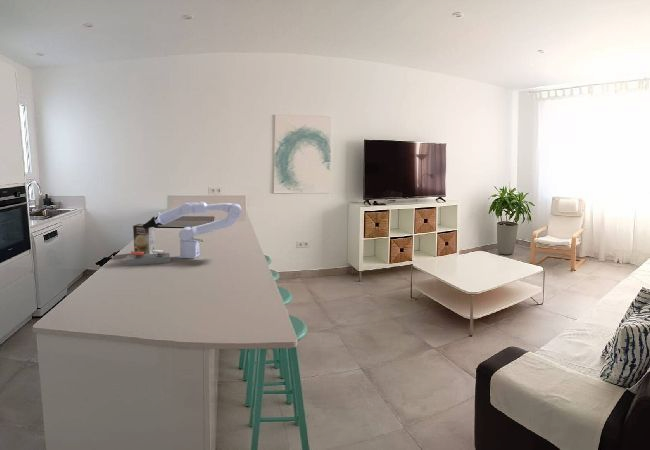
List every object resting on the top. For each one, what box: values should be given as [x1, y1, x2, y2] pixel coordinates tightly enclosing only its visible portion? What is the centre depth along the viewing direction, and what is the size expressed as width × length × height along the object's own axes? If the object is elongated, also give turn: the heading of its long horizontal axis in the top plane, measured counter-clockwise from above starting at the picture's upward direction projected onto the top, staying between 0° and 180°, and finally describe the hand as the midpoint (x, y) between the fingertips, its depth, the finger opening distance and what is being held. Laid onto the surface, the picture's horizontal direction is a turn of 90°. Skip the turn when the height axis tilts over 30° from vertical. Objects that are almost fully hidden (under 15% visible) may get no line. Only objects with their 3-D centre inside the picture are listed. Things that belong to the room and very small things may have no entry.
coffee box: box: [132, 223, 156, 254], centre depth 219 cm, size 9×6×16 cm
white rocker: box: [152, 249, 166, 254], centre depth 206 cm, size 6×3×1 cm, turn 114°
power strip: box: [125, 252, 171, 266], centre depth 203 cm, size 20×9×3 cm, turn 114°
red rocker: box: [130, 250, 144, 255], centre depth 202 cm, size 6×3×1 cm, turn 114°
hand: (145, 226), depth 210 cm, fingers open, 7 cm apart
